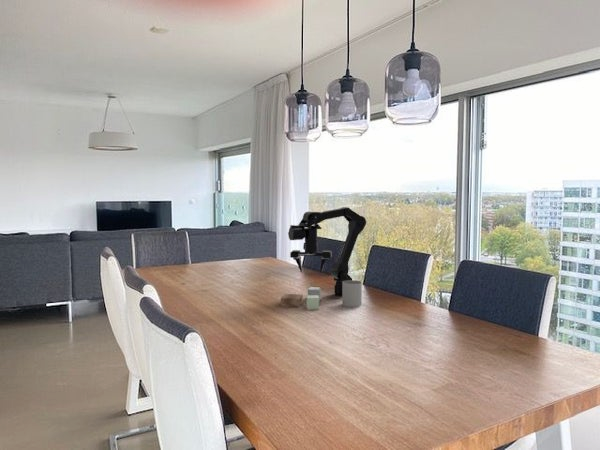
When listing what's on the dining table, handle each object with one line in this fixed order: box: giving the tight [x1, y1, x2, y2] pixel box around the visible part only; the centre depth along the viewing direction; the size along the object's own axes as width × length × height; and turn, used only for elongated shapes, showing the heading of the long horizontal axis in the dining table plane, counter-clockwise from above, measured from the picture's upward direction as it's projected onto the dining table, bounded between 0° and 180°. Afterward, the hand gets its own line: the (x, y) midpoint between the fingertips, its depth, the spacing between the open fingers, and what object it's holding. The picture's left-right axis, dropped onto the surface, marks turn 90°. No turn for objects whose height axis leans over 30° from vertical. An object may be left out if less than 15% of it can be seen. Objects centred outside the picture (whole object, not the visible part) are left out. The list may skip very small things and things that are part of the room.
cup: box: [341, 279, 363, 308], centre depth 206 cm, size 8×8×10 cm
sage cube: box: [305, 294, 320, 310], centre depth 201 cm, size 5×5×5 cm
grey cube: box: [307, 286, 321, 300], centre depth 217 cm, size 5×5×5 cm
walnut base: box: [280, 293, 304, 308], centre depth 206 cm, size 8×8×4 cm
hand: (311, 272), depth 217 cm, fingers open, 9 cm apart
